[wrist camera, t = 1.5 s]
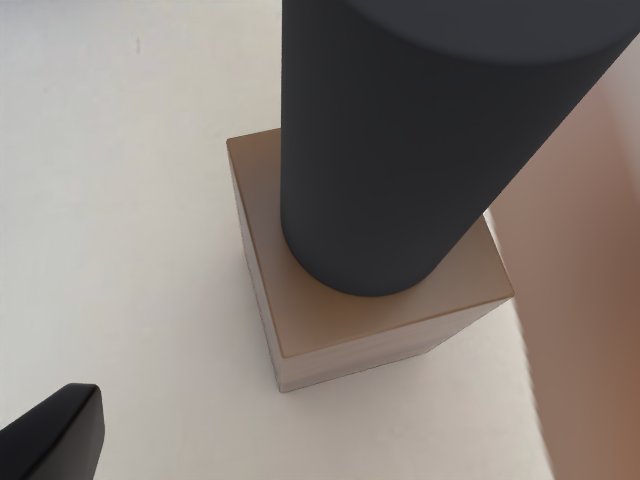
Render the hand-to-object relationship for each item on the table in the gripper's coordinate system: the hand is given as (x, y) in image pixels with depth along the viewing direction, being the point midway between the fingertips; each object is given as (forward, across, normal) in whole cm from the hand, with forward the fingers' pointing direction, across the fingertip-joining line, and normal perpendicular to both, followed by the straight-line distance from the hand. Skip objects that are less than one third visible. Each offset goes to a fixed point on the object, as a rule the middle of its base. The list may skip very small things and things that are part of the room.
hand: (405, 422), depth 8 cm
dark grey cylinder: (+7, 0, 0) cm, 7 cm away
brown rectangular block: (+13, 0, +6) cm, 14 cm away
